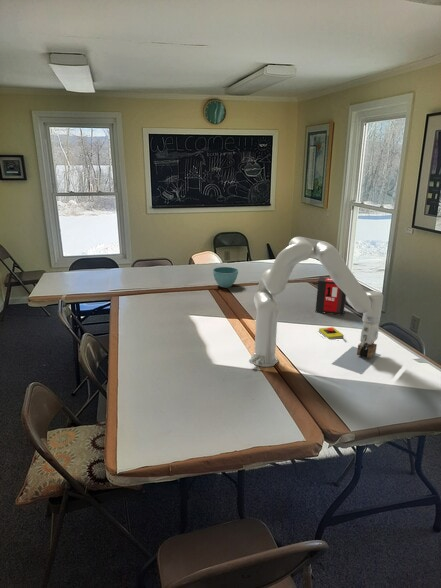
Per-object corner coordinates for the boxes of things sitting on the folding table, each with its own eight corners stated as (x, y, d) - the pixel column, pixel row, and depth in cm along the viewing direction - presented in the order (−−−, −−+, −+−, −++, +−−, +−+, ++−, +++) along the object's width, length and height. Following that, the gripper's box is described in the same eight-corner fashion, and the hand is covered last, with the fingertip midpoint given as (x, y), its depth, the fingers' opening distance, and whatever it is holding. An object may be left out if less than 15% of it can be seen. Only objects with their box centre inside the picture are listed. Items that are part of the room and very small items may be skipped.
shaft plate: (361, 377, 175) (362, 365, 173) (330, 366, 184) (332, 355, 182) (380, 357, 193) (382, 347, 191) (352, 349, 201) (353, 338, 199)
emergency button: (332, 323, 222) (347, 334, 208) (331, 331, 223) (346, 342, 209) (316, 325, 219) (330, 336, 206) (316, 332, 221) (330, 344, 207)
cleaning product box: (344, 310, 253) (347, 279, 246) (343, 315, 245) (346, 283, 238) (317, 307, 258) (319, 276, 251) (315, 311, 250) (318, 280, 243)
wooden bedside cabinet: (356, 354, 190) (358, 344, 188) (362, 350, 195) (363, 340, 193) (370, 358, 186) (371, 348, 185) (375, 354, 191) (376, 343, 189)
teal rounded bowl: (209, 283, 304) (210, 267, 300) (232, 281, 309) (233, 266, 305) (217, 290, 287) (217, 274, 283) (241, 288, 292) (241, 272, 289)
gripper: (372, 325, 176) (367, 362, 182) (386, 315, 189) (380, 350, 195) (355, 321, 181) (351, 357, 186) (370, 311, 193) (365, 345, 199)
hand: (366, 353), depth 190 cm, fingers closed on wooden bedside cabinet, 6 cm apart
